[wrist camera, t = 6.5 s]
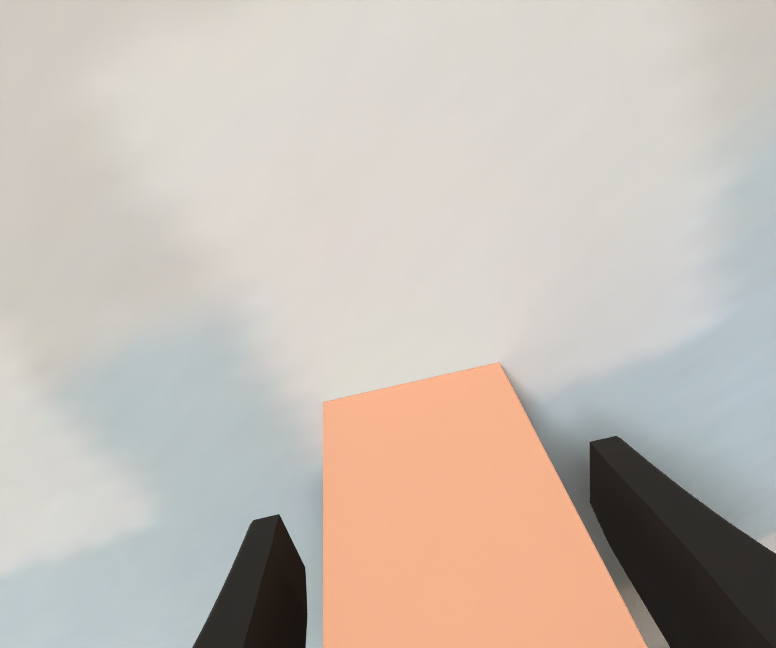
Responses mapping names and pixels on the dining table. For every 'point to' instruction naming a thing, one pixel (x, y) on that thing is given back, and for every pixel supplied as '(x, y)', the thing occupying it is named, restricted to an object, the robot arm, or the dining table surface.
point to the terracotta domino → (455, 526)
